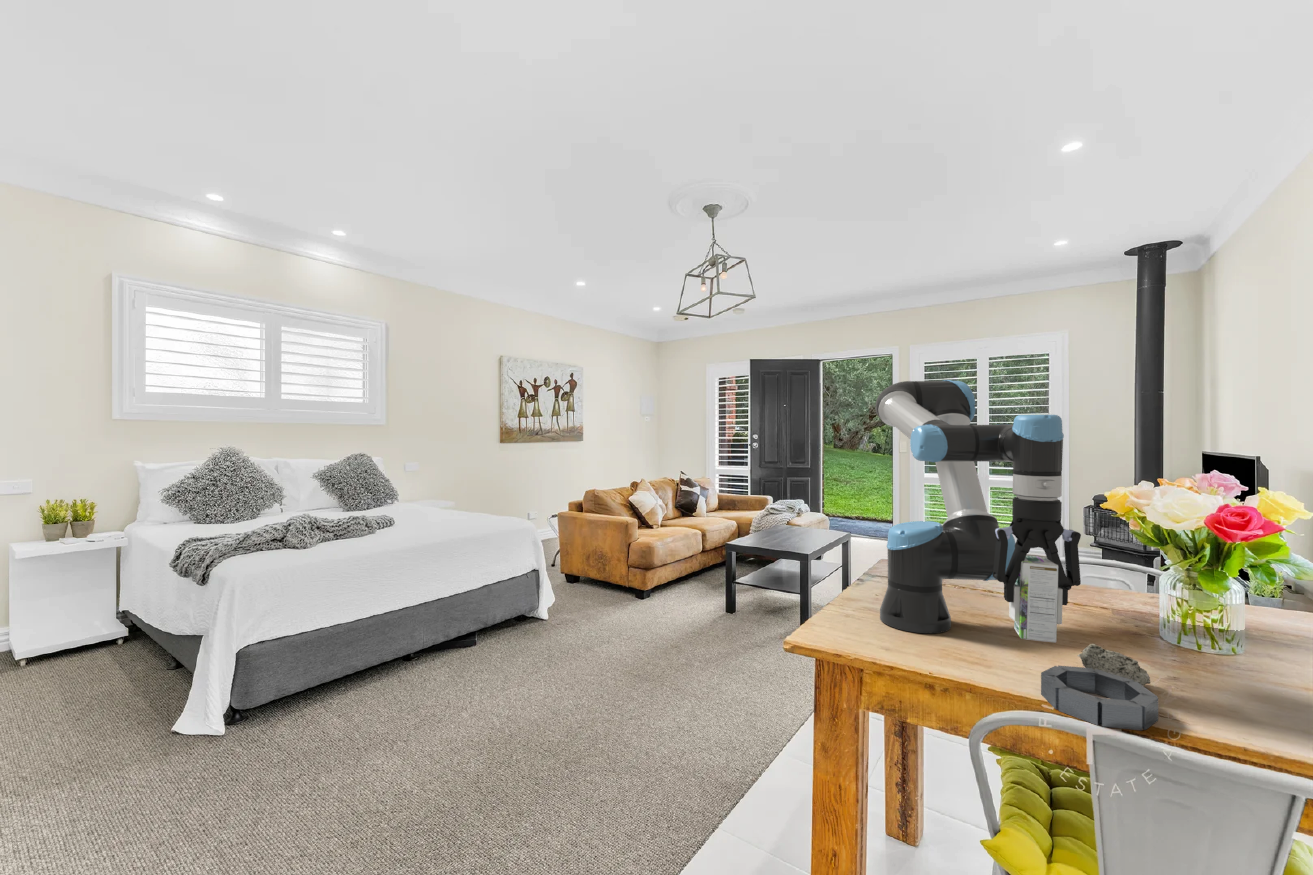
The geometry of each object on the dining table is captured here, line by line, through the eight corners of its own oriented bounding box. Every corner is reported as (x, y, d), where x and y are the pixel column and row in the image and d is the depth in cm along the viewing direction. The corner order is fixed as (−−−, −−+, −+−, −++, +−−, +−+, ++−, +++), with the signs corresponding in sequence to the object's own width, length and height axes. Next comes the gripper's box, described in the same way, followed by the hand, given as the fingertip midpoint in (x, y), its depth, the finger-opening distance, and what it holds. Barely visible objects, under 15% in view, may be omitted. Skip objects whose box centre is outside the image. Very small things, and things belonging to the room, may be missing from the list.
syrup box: (1013, 628, 107) (1013, 554, 107) (1049, 632, 105) (1050, 556, 104) (1020, 639, 102) (1021, 561, 101) (1058, 643, 100) (1059, 564, 99)
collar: (1069, 723, 85) (1069, 700, 85) (1029, 682, 99) (1029, 663, 99) (1177, 733, 82) (1177, 710, 82) (1121, 690, 95) (1121, 670, 95)
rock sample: (1087, 670, 95) (1100, 629, 99) (1066, 683, 101) (1079, 643, 105) (1159, 709, 90) (1170, 664, 94) (1133, 720, 96) (1144, 677, 100)
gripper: (986, 499, 101) (984, 623, 102) (1108, 501, 97) (1105, 631, 97) (972, 493, 108) (971, 609, 109) (1085, 495, 104) (1083, 616, 105)
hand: (1034, 620), depth 103 cm, fingers closed on syrup box, 6 cm apart
